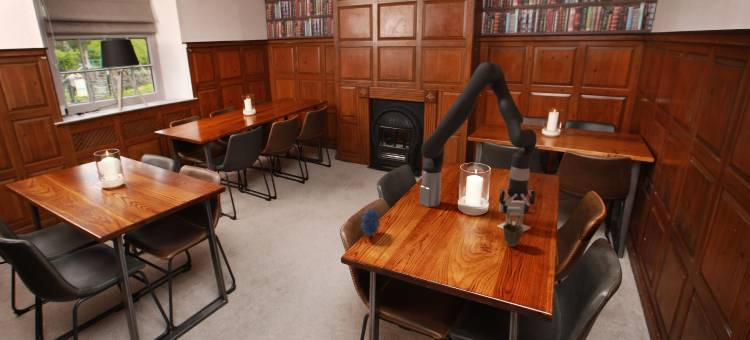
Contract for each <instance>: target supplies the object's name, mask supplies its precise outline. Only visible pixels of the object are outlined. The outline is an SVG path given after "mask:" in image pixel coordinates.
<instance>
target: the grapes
mask: <svg viewBox="0 0 750 340" xmlns="http://www.w3.org/2000/svg"><path fill="white" fill-rule="evenodd" d="M379 219H380V214H379V213H377V210H375V209H373V208H372V209H368V210H366V211H365V214H364V215H363V216H362V217H361V220H362V221H363V222H361V224H360V227H361V228H362V232H363V234H364V235H365V236H366V235H367V236H369V237H372V236H373V235H374V234H375V233H377V232H378V228H379V226H380V224H381V223H380V221H379Z"/></svg>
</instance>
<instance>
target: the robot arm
mask: <svg viewBox="0 0 750 340" xmlns="http://www.w3.org/2000/svg"><path fill="white" fill-rule="evenodd" d="M487 86H488V87H489V88H490V89H491V91H492V93H493V94H494V96H495V98H496V102H497V107H498V111H499V113H500V115H501V117H502V120H503V122H504V123H505V125H506V129H507V134H508V138H509V141H510V143H511V145H512V146H513V147H514V148H516V149H517V151H516V152H514V153H513V154H512V158H511V167H510V171H509V180H508V181H509V182H508V188H507V190H506V189H503V188H501V189H500V192H499V196H498V197H499V198H498V203H499V205H500V204H503V212H502V213H504V214H505V215H506V214H507V208H508V206H507V205H508V204H509V203H510V202H511V201H524V202H525V205H524V214H528V212H529V210H530V206H531V205H534V204H535V202H536V201H535V199H536V192H535V190H534V189H532V188H531V189H529V190H528V188H529V187H528V186H529V182H530V181H529V180H530V165H531V158H532V155H533V153H534V151H535V148H536V145H537V141H538V139H537V134H536V132H535V131H534V129H531V128H525V129H522V127H521V125H522V124H523V123H524V117H523V115H522V113H521V111H520V109H519V107H518V106H517V104H516V102H515V100H514V98H513V96H512V94H511V93H512V92H510V88H509V86H508V84H507V80H506V77H505V74H504V71H503V69H502V68H501V66H499V65H498V64H497V63H493V62H491V61H485V62H482V63H480V64H479V65H478V66H477V67H476V69H475V70H474V71H473V74H472V75H471V77H470V79H469V80H468V82H467V84H466V85H465V87H464V88H463V90H462V91H461V92H460V94H459V95H458V96H457V97H456V99H455V101H454V102H453V103H452V104H451V105H450V107H449V108H448V110H447V111H446V113H445V114H444V116H443V117H442V119H441V120H440V122H439V124H438V125H437V127H436V128H435V130H434V131H433V132H432V133H431V134H430V135H429V137H428V138H426V140H424V142H423V143H422V144H421V147H420V150H421V151H420V152H421V155H422V156H423V157H424V160H423V163H422V168H421V169H422V170H421V185H420V189H419V205H422V206H425V207H427V208H431V207H434V208H435V207H438V206H439V205H440V203H441V190H442V189H441V187H442V169H443V164H444V154H445V145H446V143H447V142H448V140H449V139H450V138H451V137H452V136H453V135H455V133H456V132H457V131H458V130H459V129H460V128H462V126H463V125H464V124H465V122H466V121H467V120H468V118H469V117H470V116H471V114H473V111H474V108H475V105H476V102H477V99H478V97H479V95H480V94H481V92H482V91H484V89H485V88H486V87H487ZM507 194H508V195H507ZM506 195H507V196H506ZM528 195H529V200H528V199H527V198H526V197H527V196H528ZM505 196H506V198H505Z"/></svg>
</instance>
